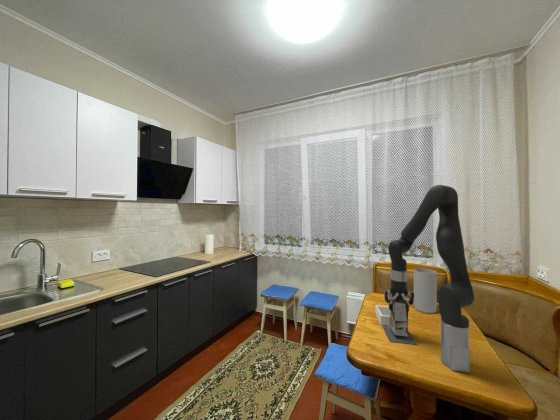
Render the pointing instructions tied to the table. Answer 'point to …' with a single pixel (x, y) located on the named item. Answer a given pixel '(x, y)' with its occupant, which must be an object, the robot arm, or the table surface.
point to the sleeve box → (383, 314)
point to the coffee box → (399, 317)
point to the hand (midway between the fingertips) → (398, 311)
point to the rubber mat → (397, 338)
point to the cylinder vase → (425, 290)
